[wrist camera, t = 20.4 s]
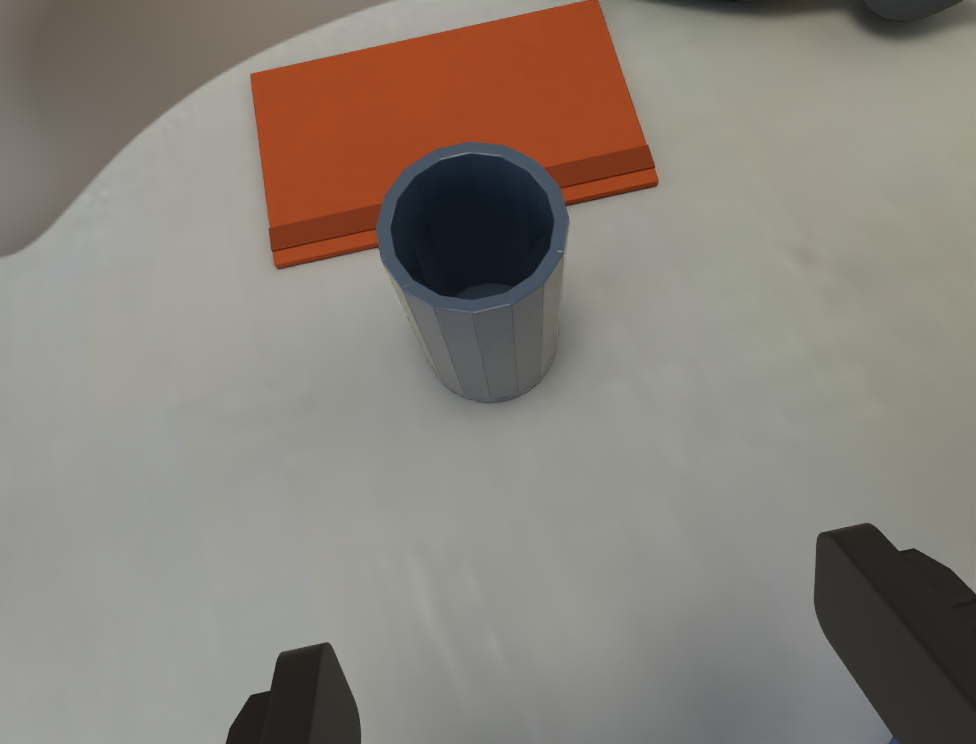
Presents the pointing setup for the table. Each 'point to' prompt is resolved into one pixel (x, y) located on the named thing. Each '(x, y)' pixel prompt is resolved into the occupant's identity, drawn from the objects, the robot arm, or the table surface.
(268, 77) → the orange flat tray
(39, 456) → the table surface
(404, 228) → the cup
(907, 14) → the paintbrush
